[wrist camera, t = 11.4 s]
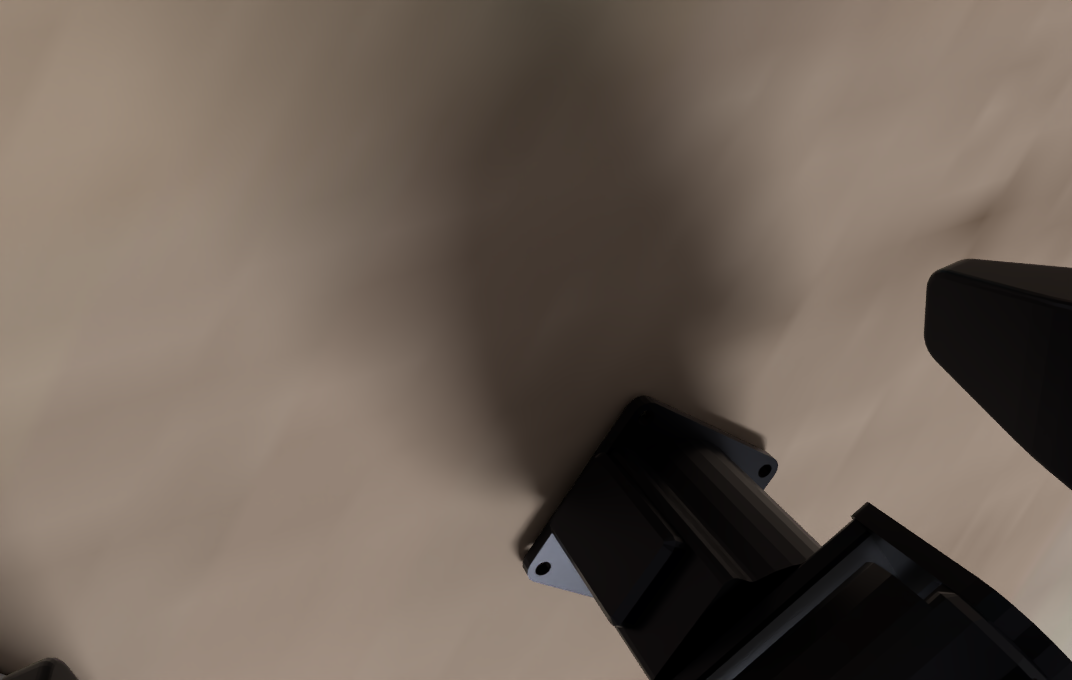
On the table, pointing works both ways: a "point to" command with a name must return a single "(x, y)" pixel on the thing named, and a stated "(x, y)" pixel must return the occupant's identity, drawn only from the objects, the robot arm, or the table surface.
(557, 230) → the table surface
